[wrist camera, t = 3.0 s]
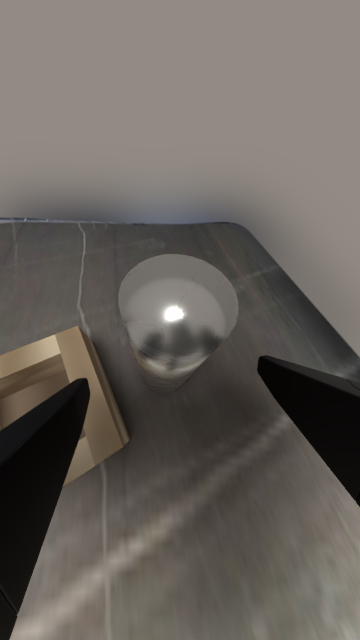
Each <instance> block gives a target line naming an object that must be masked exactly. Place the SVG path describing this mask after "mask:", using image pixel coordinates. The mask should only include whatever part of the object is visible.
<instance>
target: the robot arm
mask: <svg viewBox="0 0 360 640" xmlns="http://www.w3.org/2000/svg"><path fill="white" fill-rule="evenodd" d="M257 371H258V374H259V375H260V377H261V378H262V380H263V381H264V383H265V384H266V386H267V388H268V389H269V391H270V392H271V394H272V395H273V397H274V398H275V399H276V401H277V402H278V403H279V405H280V406H281V407H282V408H283V410H284V411H285V412H286V413H287V415H288V416H289V417H290V419H291V420H292V421H293V422H294V424H295V425H296V426H297V427H298V429H299V430H300V431H301V433H302V434H303V435H304V436H305V438H306V439H307V440H308V441H309V443H310V444H311V445H312V447H313V448H314V449H315V450H316V452H317V453H318V454H319V456H320V457H321V458H322V459H323V461H324V462H325V463H326V464H327V466H328V467H329V468H330V470H331V471H332V472H333V473H334V475H335V476H336V477H337V478H338V480H339V481H340V482H341V484H342V485H343V486H344V487H345V489H346V490H347V491H348V492H349V494H350V495H351V496H352V498H353V499H354V500H355V501H356V503H357V504H358V506H359V507H360V383H358V382H355V381H351V380H348V379H344V378H341V377H338V376H334V375H331V374H328V373H324V372H321V371H318V370H314V369H311V368H308V367H304V366H301V365H298V364H294V363H291V362H288V361H284V360H281V359H277V358H274V357H271V356H267V355H266V356H260V357H259V360H258V367H257ZM89 400H90V388H89V383H88V380H87V378H78V379H76V380H74V381H73V382H71V383H70V384H68V385H67V386H65V387H64V388H62V389H61V390H59V391H58V392H57V393H55V394H54V395H52V396H51V397H49V398H48V399H46V400H45V401H43V402H42V403H40V404H39V405H37V406H36V407H34V408H33V409H31V410H30V411H29V412H27V413H26V414H24V415H23V416H21V417H20V418H18V419H17V420H15V421H14V422H12V423H11V424H9V425H8V426H6V427H5V428H3V429H2V430H1V431H0V640H9V639H10V636H11V634H12V631H13V628H14V625H15V622H16V619H17V614H18V612H19V610H20V607H21V604H22V602H23V599H24V596H25V593H26V590H27V587H28V584H29V582H30V579H31V576H32V573H33V570H34V567H35V564H36V562H37V559H38V556H39V553H40V550H41V547H42V544H43V542H44V539H45V536H46V533H47V530H48V527H49V524H50V522H51V519H52V516H53V513H54V510H55V507H56V505H57V502H58V499H59V496H60V493H61V490H62V487H63V485H64V482H65V479H66V476H67V473H68V470H69V467H70V465H71V462H72V459H73V456H74V453H75V450H76V447H77V445H78V442H79V439H80V436H81V433H82V430H83V426H84V422H85V417H86V413H87V409H88V405H89Z"/></svg>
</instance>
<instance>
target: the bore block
mask: <svg viewBox="0 0 360 640" xmlns="http://www.w3.org/2000/svg"><path fill="white" fill-rule="evenodd" d="M78 378H87V380H88V383H89V388H90V400H89V405H88V409H87V413H86V417H85V422H84V426H83V430H82V433H81V436H80V439H79V442H78V445H77V447H76V450H75V453H74V456H73V459H72V462H71V465H70V467H69V470H68V473H67V476H66V479H65V482H64V485H63V487H65V486H66V485H68V484H69V483H71V482H72V481H74V480H75V479H76V478H78V477H79V476H81V475H82V474H84V473H85V472H87V471H88V470H90V469H91V468H93V467H94V466H96V465H97V464H99V463H100V462H102V461H103V460H105V459H106V458H108V457H109V456H111V455H112V454H114V453H115V452H117V451H118V450H120V449H121V448H122V447H124V446H125V445H126V443H127V442H128V441H129V440H130V439H131V437H130V434H129V432H128V429H127V427H126V424H125V421H124V419H123V416H122V414H121V411H120V409H119V406H118V404H117V401H116V399H115V396H114V394H113V391H112V389H111V386H110V383H109V381H108V378H107V376H106V373H105V371H104V368H103V366H102V363H101V361H100V358H99V356H98V353H97V351H96V348H95V345H94V344H93V342H92V341H91V340H90V339H89V338H88V337H87V335H86V334H85V333H84V332H83V331H82V330H81V329H80V327H79V326H76V327H73V328H70V329H68V330H65V331H63V332H60V333H57V334H55V335H52V336H50V337H47V338H44V339H42V340H39V341H37V342H34V343H31V344H29V345H26V346H24V347H21V348H18V349H16V350H13V351H11V352H8V353H5V354H3V355H0V431H1V430H2V429H3V428H5V427H6V426H8V425H9V424H11V423H12V422H14V421H15V420H17V419H18V418H20V417H21V416H23V415H24V414H26V413H27V412H29V411H30V410H31V409H33V408H34V407H36V406H37V405H39V404H40V403H42V402H43V401H45V400H46V399H48V398H49V397H51V396H52V395H54V394H55V393H57V392H58V391H59V390H61V389H62V388H64V387H65V386H67V385H68V384H70V383H71V382H73V381H74V380H76V379H78ZM63 487H62V488H63Z"/></svg>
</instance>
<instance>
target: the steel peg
mask: <svg viewBox="0 0 360 640" xmlns="http://www.w3.org/2000/svg"><path fill="white" fill-rule="evenodd" d="M118 301H119V309H120V313H121V316H122V319H123V322H124V325H125V328H126V331H127V334H128V337H129V340H130V343H131V346H132V349H133V352H134V355H135V358H136V361H137V364H138V367H139V370H140V373H141V376H142V378H143V381H144V382H145V384H146V385H147V386H148V387H149V388H150V389H152V390H153V391H156V392H159V393H168V392H172V391H174V390H176V389H177V388H179V387H180V386H181V385H182V384H183V383H184V382H185V381H186V380H187V379H188V378H189V376H190V375H191V374H192V373H193V372H194V371H195V370H196V369H197V368H198V367H199V366H200V365H201V364H202V363H203V362H204V361H205V360H206V359H207V358H208V356H209V355H210V354H211V353H212V352H213V351H214V350H215V349H216V348H217V347H218V346H219V345H220V344H221V343H222V342H223V341H224V340H225V339H226V338H227V336H228V335H229V334H230V333H231V331H232V330H233V328H234V326H235V324H236V321H237V317H238V300H237V296H236V293H235V291H234V288H233V287H232V285H231V283H230V282H229V281H228V279H227V278H226V277H225V276H224V275H223V274H222V273H221V272H220V271H219V270H218V269H216V268H215V267H214V266H212V265H211V264H209V263H207V262H205V261H203V260H200V259H198V258H195V257H191V256H187V255H180V254H166V255H159V256H155V257H152V258H149V259H147V260H145V261H142V262H141V263H139V264H138V265H136V266H135V267H134V268H133V269H131V271H130V272H129V273H128V274H127V275H126V277H125V278H124V280H123V282H122V284H121V287H120V290H119V297H118Z"/></svg>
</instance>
